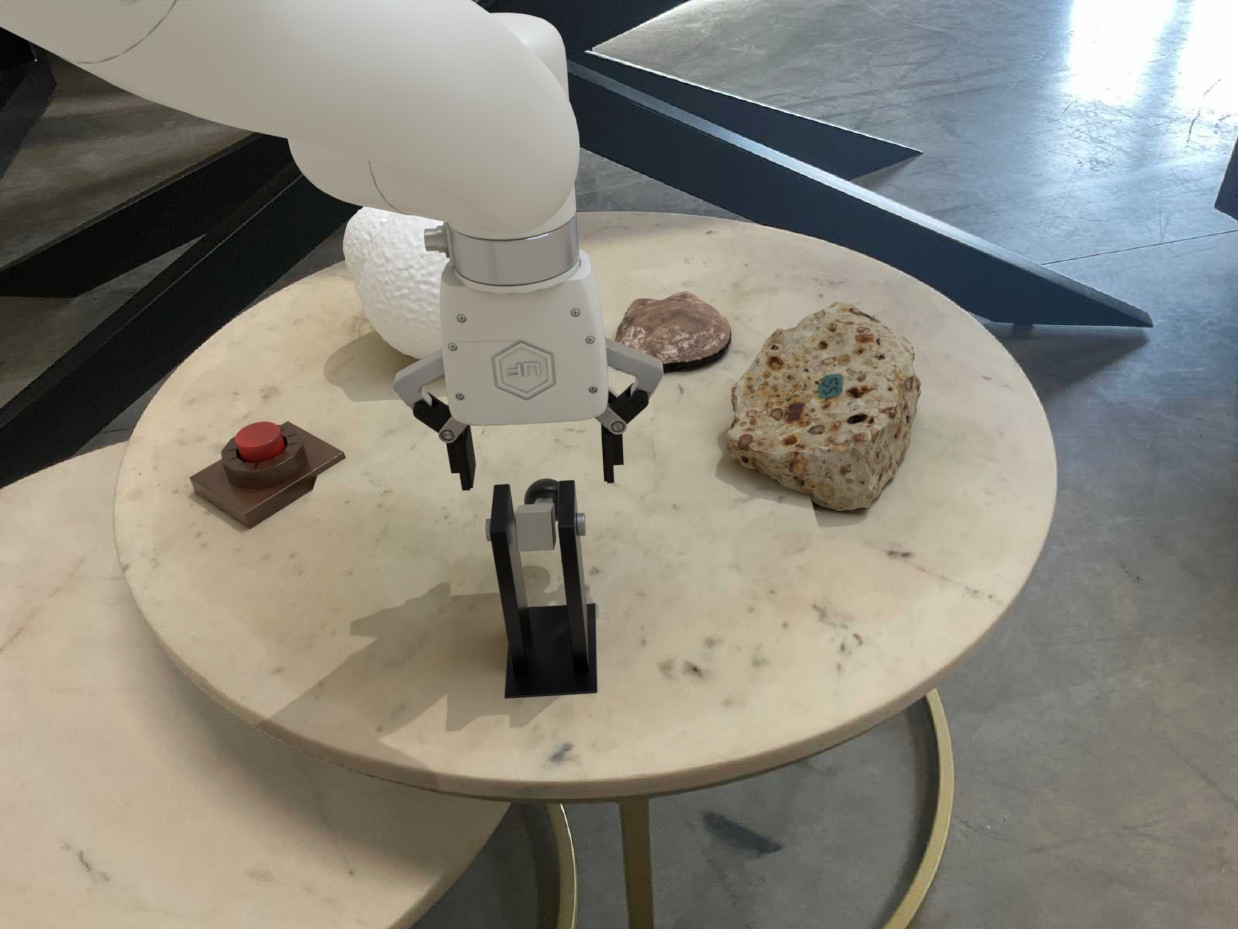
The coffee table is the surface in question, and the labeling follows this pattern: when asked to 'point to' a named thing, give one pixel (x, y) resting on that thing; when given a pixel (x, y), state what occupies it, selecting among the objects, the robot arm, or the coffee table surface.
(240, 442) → the button
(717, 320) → the shell
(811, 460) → the rock
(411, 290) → the decorative orb
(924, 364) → the coffee table surface
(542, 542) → the lever
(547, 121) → the robot arm
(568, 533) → the bracket
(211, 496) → the control block
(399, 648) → the coffee table surface
